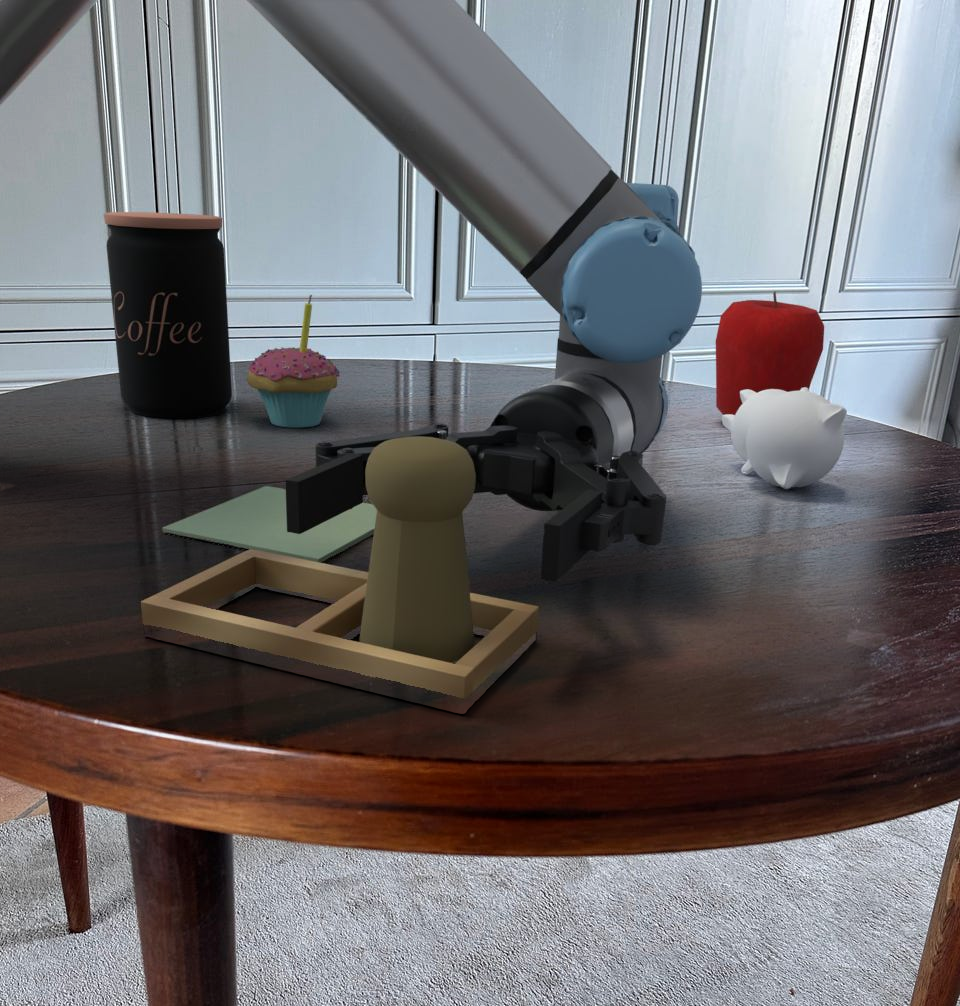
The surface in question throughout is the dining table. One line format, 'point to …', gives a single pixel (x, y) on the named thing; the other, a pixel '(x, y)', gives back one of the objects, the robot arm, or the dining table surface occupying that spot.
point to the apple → (765, 349)
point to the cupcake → (294, 381)
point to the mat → (276, 526)
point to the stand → (333, 622)
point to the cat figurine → (787, 435)
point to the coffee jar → (170, 313)
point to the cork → (419, 549)
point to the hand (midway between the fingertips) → (414, 529)
